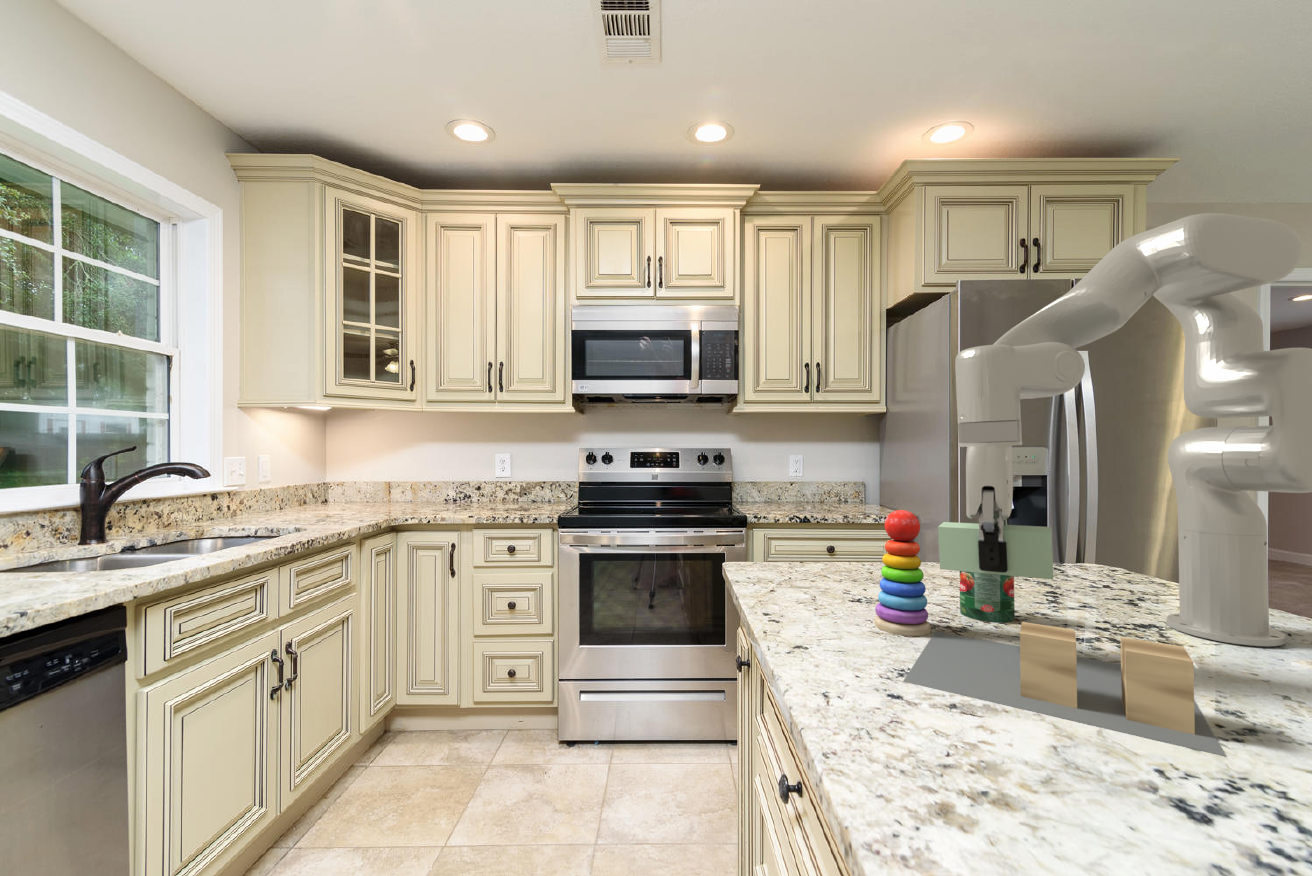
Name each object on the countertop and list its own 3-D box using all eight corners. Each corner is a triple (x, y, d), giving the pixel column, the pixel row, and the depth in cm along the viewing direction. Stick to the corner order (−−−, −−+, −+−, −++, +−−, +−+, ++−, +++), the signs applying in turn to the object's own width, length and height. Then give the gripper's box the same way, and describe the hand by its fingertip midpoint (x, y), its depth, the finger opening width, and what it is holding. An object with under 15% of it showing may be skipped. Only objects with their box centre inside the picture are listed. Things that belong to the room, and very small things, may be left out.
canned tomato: (1026, 627, 87) (1025, 557, 87) (976, 626, 87) (975, 557, 87) (995, 612, 95) (995, 548, 95) (950, 611, 95) (949, 548, 95)
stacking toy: (937, 642, 80) (936, 513, 80) (879, 638, 81) (878, 512, 82) (922, 625, 88) (921, 508, 88) (870, 621, 89) (869, 507, 90)
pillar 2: (1121, 701, 60) (1120, 637, 60) (1184, 714, 57) (1183, 646, 57) (1126, 719, 56) (1125, 650, 56) (1194, 734, 53) (1193, 661, 53)
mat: (935, 635, 83) (935, 631, 83) (1180, 679, 67) (1179, 674, 67) (903, 686, 65) (903, 681, 65) (1226, 763, 49) (1226, 756, 49)
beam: (945, 562, 81) (943, 522, 81) (1053, 571, 74) (1051, 527, 74) (939, 569, 77) (938, 526, 77) (1053, 579, 70) (1051, 532, 70)
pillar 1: (1022, 680, 65) (1021, 621, 65) (1075, 691, 62) (1074, 629, 62) (1020, 696, 61) (1019, 633, 61) (1077, 708, 58) (1076, 642, 58)
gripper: (966, 436, 85) (971, 553, 84) (949, 437, 71) (955, 577, 71) (1024, 434, 80) (1030, 557, 80) (1018, 434, 67) (1025, 584, 66)
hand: (995, 565), depth 75 cm, fingers closed on beam, 5 cm apart
